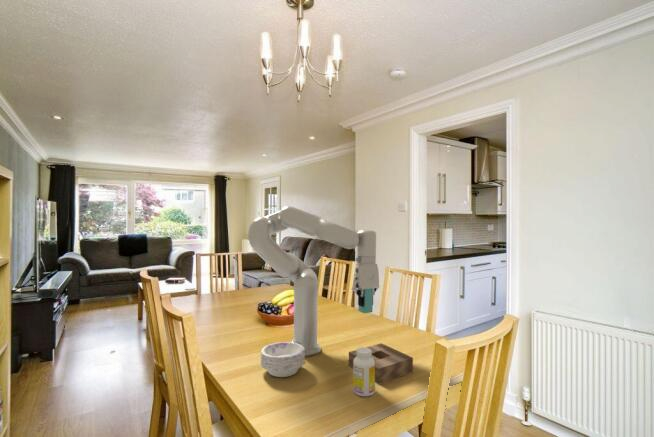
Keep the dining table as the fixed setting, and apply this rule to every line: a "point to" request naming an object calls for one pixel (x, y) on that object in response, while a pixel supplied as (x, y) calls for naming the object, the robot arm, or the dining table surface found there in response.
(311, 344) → the robot arm
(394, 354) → the socket block
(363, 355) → the supplement bottle
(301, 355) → the paper bowls
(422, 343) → the dining table surface
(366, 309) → the peg
